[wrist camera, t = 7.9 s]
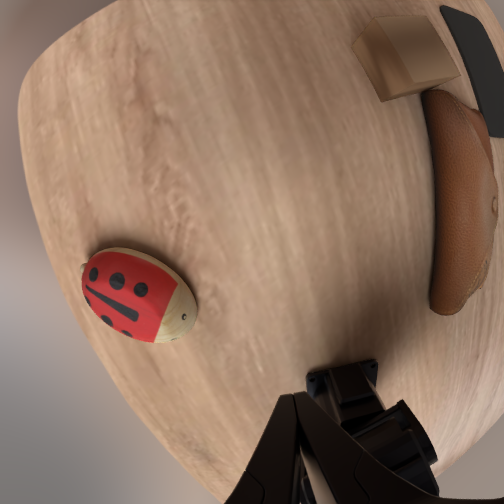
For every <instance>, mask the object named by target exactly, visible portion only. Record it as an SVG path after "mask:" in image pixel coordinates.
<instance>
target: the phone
mask: <svg viewBox="0 0 504 504" xmlns="http://www.w3.org/2000/svg"><path fill="white" fill-rule="evenodd" d="M440 12H441V14H442V16H443V18H444V20H445V22H446V24H447V26H448V28H449V30H450V32H451V34H452V36H453V38H454V40H455V43H456V45H457V47H458V50H459V52H460V54H461V57H462V59H463V62H464V64H465V67H466V70H467V72H468V75H469V78H470V81H471V85H472V88H473V91H474V94H475V97H476V100H477V104H478V107H479V111H480V113H481V114H482V115H483V117H484V120H485V123H486V126H487V130H488V134H489V136H490V137H497V138H504V72H503V69H502V67H501V64H500V61H499V59H498V57H497V54H496V52H495V50H494V47H493V45H492V43H491V41H490V39H489V37H488V35H487V33H486V31H485V29H484V27H483V25H482V24H481V22H480V21H479V20H478V19H477V18H475V17H474V16H471V15H469V14H467V13H464V12H462V11H459V10H456V9H453V8H451V7H448V6H444V5H443V6H441V7H440Z"/></svg>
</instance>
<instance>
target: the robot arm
mask: <svg viewBox="0 0 504 504" xmlns="http://www.w3.org/2000/svg"><path fill="white" fill-rule="evenodd" d="M372 364H373V365H372ZM371 365H372V366H371ZM377 371H378V362H377V361H376V359H370V360H366V361H362V362H359V363H355V364H350V365H346V366H342V367H337V368H333V369H328V370H323V371H318V372H313V373H309V374H308V375H307V376H306V388H307V392H305V391H302V392H297V393H294V394H284V395H280V397H279V399H278V401H277V403H276V406H275V408H274V410H273V412H272V415H271V417H270V419H269V421H268V423H267V426H266V428H265V430H264V432H263V434H262V436H261V438H260V441H259V443H258V445H257V447H256V449H255V451H254V453H253V455H252V457H251V459H250V461H249V463H248V465H247V467H246V469H245V470H246V471H244V472H243V474H242V476H241V478H240V480H239V482H238V483H237V485H236V487H235V489H234V490H233V492H232V493H231V495H230V496H229V497H228V499H227V500H226V502H225V503H224V504H300V503H301V504H504V497H502V498H497V499H452V498H442V497H439V487H438V485H437V482H436V480H435V477H434V475H433V473H432V471H431V468H430V465H432V464H434V463H435V462H437V461H438V459H437V455H436V452H435V450H434V447H433V445H432V443H431V441H430V439H429V437H428V435H427V433H426V432H425V430H424V428H423V427H422V425H421V424H420V422H419V421H418V420H417V418H416V417H415V415H414V414H413V413H412V411H411V410H410V408H409V407H408V406H407V404H406V403H405V402H404V400H403V399H402V400H400V401H399V402H397V404H396V405H394V406H392V407H391V408H389V409H387V410H386V408H385V406H384V404H383V402H382V400H381V398H380V396H379V395H378V393H377V391H376V389H375V387H376V379H377ZM311 378H313V379H311ZM300 448H301V450H300Z"/></svg>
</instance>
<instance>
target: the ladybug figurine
mask: <svg viewBox="0 0 504 504" xmlns="http://www.w3.org/2000/svg"><path fill="white" fill-rule="evenodd" d="M80 271H81V273H82V274H83V275H82V290H83V294H84V297H85V299H86V301H87V303H88V304H89V306H90V307H91V309H92V310H93V311H94V312H95V313H96V315H97V316H98V317H99V318H101V319H102V320H103V321H104V322H105V323H106V324H108V325H109V326H110V327H112V328H113V329H115V330H117V331H118V332H120V333H122V334H124V335H126V336H129V337H131V338H134V339H137V340H141V341H145V342H152V343H166V342H171V341H174V340H176V339H179V338H180V337H182V336H184V335H185V334H187V333H188V332H189V331H190V330H191V329H192V327H193V326H194V324H195V321H196V317H197V306H196V302H195V299H194V297H193V295H192V293H191V291H190V289H189V288H188V286H187V285H186V284H185V282H184V281H183V280H182V279H181V278H180V277H179V276H178V275H177V274H176V273H175V272H174V271H173V270H172V269H170V268H169V267H168V266H166V265H165V264H163V263H162V262H160V261H159V260H157V259H155V258H153V257H151V256H149V255H147V254H145V253H142V252H139V251H136V250H133V249H128V248H120V247H115V248H108V249H104V250H102V251H99V252H97V253H96V254H95V255H93V256H92V257H91V258H90V260H89V261H88V263H84V264H82V265H81V268H80Z"/></svg>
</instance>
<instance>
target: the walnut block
mask: <svg viewBox="0 0 504 504" xmlns="http://www.w3.org/2000/svg"><path fill="white" fill-rule="evenodd" d="M351 48H352V50H353V51H354V53H355V54H356V56H357V58H358V59H359V61H360V63H361V65H362V66H363V68H364V70H365V72H366V74H367V75H368V77H369V79H370V81H371V83H372V85H373V87H374V89H375V91H376V93H377V95H378V97H379V99H380V101H381V102H384V101H388V100H392V99H395V98H399V97H403V96H407V95H412V94H416V93H420V92H424V91H427V90H430V89H432V88H434V87H436V86H438V85H440V84H443V83H445V82H447V81H449V80H452V79H454V78H456V77H458V76H461V74H460V72H459V70H458V68H457V66H456V65H455V63H454V61H453V59H452V57H451V55H450V53H449V52H448V50H447V48H446V46H445V45H444V43H443V41H442V40H441V38H440V36H439V35H438V33H437V32H436V30H435V28H434V27H433V25H432V24H431V22H430V21H429V19H428V18H427V17H426V16H383V17H374V18H373V20H372V21H371V22H370V23H369V25H368V26H367V27H366V28H365V30H364V31H363V32H362V34H361V35H360V36H359V37H358V39H357V40H356V41H355V43H354V44H353V45H352V47H351Z"/></svg>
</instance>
